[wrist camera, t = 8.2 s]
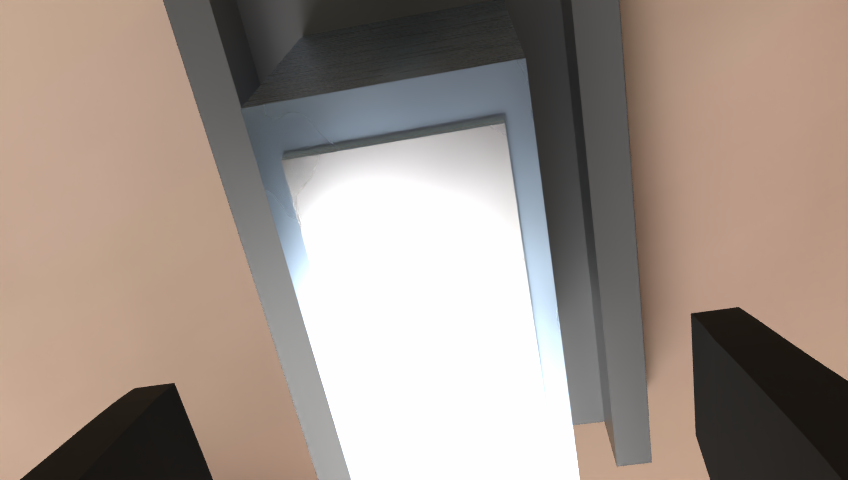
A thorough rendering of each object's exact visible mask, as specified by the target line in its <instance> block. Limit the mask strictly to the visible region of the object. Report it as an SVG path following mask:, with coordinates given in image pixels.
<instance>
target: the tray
mask: <svg viewBox="0 0 848 480" xmlns="http://www.w3.org/2000/svg"><path fill="white" fill-rule="evenodd" d="M487 1H492V0H163V2H164V5H165V8H166V11H167V14H168V17H169V20H170V23H171V26H172V30H173V33H174V36H175V39H176V42H177V45H178V48H179V51H180V54H181V57H182V60H183V64H184V67H185V70H186V73H187V76H188V79H189V82H190V85H191V88H192V91H193V94H194V98H195V101H196V104H197V107H198V110H199V113H200V116H201V119H202V122H203V125H204V128H205V132H206V135H207V138H208V141H209V144H210V147H211V150H212V153H213V156H214V159H215V162H216V166H217V169H218V172H219V175H220V178H221V181H222V184H223V187H224V190H225V193H226V196H227V200H228V203H229V206H230V209H231V212H232V215H233V218H234V221H235V224H236V227H237V230H238V234H239V237H240V240H241V243H242V246H243V249H244V252H245V255H246V258H247V261H248V264H249V268H250V271H251V274H252V277H253V280H254V283H255V286H256V289H257V292H258V295H259V298H260V302H261V305H262V308H263V311H264V314H265V317H266V320H267V323H268V326H269V329H270V332H271V336H272V339H273V342H274V345H275V348H276V351H277V354H278V357H279V360H280V363H281V366H282V369H283V373H284V376H285V379H286V382H287V385H288V388H289V391H290V394H291V397H292V400H293V403H294V407H295V410H296V413H297V416H298V419H299V422H300V425H301V428H302V431H303V434H304V437H305V441H306V444H307V447H308V450H309V453H310V456H311V459H312V462H313V465H314V468H315V471H316V475H317V478H318V480H352V479H351V476H350V473H349V469H348V466H347V463H346V459H345V456H344V453H343V449H342V446H341V443H340V439H339V436H338V433H337V429H336V426H335V423H334V419H333V416H332V413H331V409H330V406H329V403H328V399H327V396H326V393H325V389H324V386H323V383H322V379H321V376H320V373H319V369H318V366H317V363H316V359H315V356H314V353H313V349H312V346H311V343H310V339H309V336H308V333H307V329H306V326H305V323H304V319H303V316H302V313H301V309H300V306H299V303H298V299H297V296H296V293H295V289H294V286H293V282H292V279H291V276H290V272H289V269H288V266H287V262H286V259H285V256H284V252H283V249H282V246H281V242H280V239H279V236H278V232H277V229H276V226H275V222H274V219H273V216H272V212H271V209H270V206H269V202H268V199H267V196H266V192H265V189H264V186H263V182H262V179H261V176H260V172H259V169H258V166H257V162H256V159H255V156H254V152H253V149H252V146H251V142H250V139H249V136H248V132H247V129H246V126H245V122H244V119H243V116H242V112H241V108H242V106H243V105H244V104H245V103H246V102H247V100H248V99H249V98H250V97H251V96H252V95H253V93H254V92H255V91H256V90H257V89H258V88H259V86H260V85H261V84H262V83H263V82H264V80H265V79H266V78H267V77H268V76H269V75H270V73H271V72H272V71H273V70H274V69H275V68H276V66H277V65H278V64H279V63H280V62H281V60H282V59H283V58H284V57H285V56H286V55H287V53H288V52H289V51H290V50H291V49H292V47H293V46H294V45H295V44H296V43H297V42H298V40H299V39H300V38H301V37H302V36H304V35H310V34H315V33H320V32H326V31H331V30H337V29H342V28H347V27H353V26H358V25H363V24H369V23H374V22H379V21H385V20H390V19H396V18H401V17H406V16H412V15H417V14H422V13H428V12H433V11H438V10H444V9H449V8H455V7H460V6H465V5H471V4H476V3H481V2H487ZM503 1H504V3H505V6H506V9H507V11H508V14H509V16H510V19H511V22H512V24H513V27H514V29H515V32H516V35H517V37H518V40H519V42H520V45H521V48H522V50H523V53H524V55H525V58H526V65H527V73H528V81H529V89H530V97H531V105H532V112H533V120H534V128H535V136H536V144H537V151H538V159H539V167H540V175H541V183H542V191H543V198H544V206H545V214H546V222H547V230H548V237H549V245H550V253H551V261H552V269H553V276H554V284H555V292H556V300H557V308H558V316H559V323H560V331H561V339H562V347H563V355H564V362H565V370H566V378H567V386H568V394H569V402H570V409H571V417H572V425H579V424H587V423H595V422H603V421H604V422H605V425H606V429H607V432H608V436H609V440H610V443H611V447H612V451H613V454H614V458H615V461H616V465H617V466H625V465H634V464H642V463H651V462H652V457H651V443H650V429H649V410H648V396H647V382H646V368H645V354H644V340H643V326H642V312H641V298H640V284H639V270H638V256H637V242H636V228H635V214H634V200H633V185H632V171H631V157H630V143H629V129H628V115H627V101H626V87H625V73H624V59H623V45H622V31H621V17H620V3H619V0H503Z"/></svg>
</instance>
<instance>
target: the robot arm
mask: <svg viewBox="0 0 848 480" xmlns="http://www.w3.org/2000/svg"><path fill="white" fill-rule="evenodd" d="M691 327H692V352H693V377H694V402H695V428H696V437H697V440H698V443H699V446H700V449H701V453H702V456H703V459H704V462H705V465H706V468H707V471H708V474H709V477H710V480H848V381H847V380H846V379H844V378H843V377H841V376H839V375H838V374H836V373H835V372H833V371H832V370H830V369H829V368H827V367H826V366H824V365H823V364H821V363H820V362H818V361H817V360H815V359H814V358H812V357H811V356H809V355H808V354H806V353H805V352H803V351H802V350H801V349H799V348H798V347H796V346H795V345H793V344H792V343H790V342H789V341H787V340H786V339H785V338H783V337H782V336H780V335H779V334H777V333H776V332H774V331H773V330H772V329H770V328H769V327H767V326H766V325H764V324H763V323H762V322H760V321H759V320H757V319H756V318H754V317H753V316H751V315H750V314H748V313H747V312H745V311H744V310H742V309H741V308H739V307H736V308H729V309H721V310H714V311H706V312H699V313H691ZM20 480H213V479H212V476H211V474H210V471H209V469H208V466H207V463H206V461H205V458H204V456H203V453H202V451H201V448H200V446H199V443H198V441H197V438H196V436H195V433H194V431H193V428H192V426H191V423H190V421H189V418H188V416H187V413H186V411H185V408H184V406H183V403H182V401H181V398H180V396H179V393H178V391H177V388H176V386H175V383H171V384H163V385H156V386H148V387H141V388H134V389H133V390H131V391H130V392H128V393H127V394H125V395H124V396H123V397H121V398H120V399H118V400H117V401H116V402H114V403H113V404H112V405H111V406H109V407H108V408H107V409H105V410H104V411H103V412H102V413H100V414H99V415H98V416H97V417H95V418H94V419H93V420H92V421H90V422H89V423H88V424H87V425H86V426H84V427H83V428H82V429H81V430H79V431H78V432H77V433H76V434H75V435H73V436H72V437H71V438H70V439H69V440H67V441H66V442H65V443H64V444H63V445H61V446H60V447H59V448H58V449H57V450H55V451H54V452H53V453H52V454H51V455H49V456H48V457H47V458H46V459H44V460H43V461H42V462H41V463H40V464H38V465H37V466H36V467H35V468H34V469H32V470H31V471H30V472H29V473H28V474H26V475H25V476H24V477H23V478H21V479H20Z"/></svg>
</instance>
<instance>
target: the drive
mask: <svg viewBox="0 0 848 480" xmlns="http://www.w3.org/2000/svg"><path fill="white" fill-rule="evenodd" d="M241 112H242V116H243V119H244V122H245V126H246V129H247V132H248V136H249V139H250V142H251V146H252V149H253V152H254V156H255V159H256V162H257V166H258V169H259V172H260V176H261V179H262V182H263V186H264V189H265V192H266V196H267V199H268V202H269V206H270V209H271V212H272V216H273V219H274V222H275V226H276V229H277V232H278V236H279V239H280V242H281V246H282V249H283V252H284V256H285V259H286V262H287V266H288V269H289V272H290V276H291V279H292V282H293V286H294V289H295V293H296V296H297V299H298V303H299V306H300V309H301V313H302V316H303V319H304V323H305V326H306V329H307V333H308V336H309V339H310V343H311V346H312V349H313V353H314V356H315V359H316V363H317V366H318V369H319V373H320V376H321V379H322V383H323V386H324V389H325V393H326V396H327V399H328V403H329V406H330V409H331V413H332V416H333V419H334V423H335V426H336V429H337V433H338V436H339V439H340V443H341V446H342V449H343V453H344V456H345V459H346V463H347V466H348V469H349V473H350V476H351V479H352V480H579V472H578V464H577V456H576V448H575V441H574V433H573V425H572V417H571V409H570V402H569V394H568V386H567V378H566V370H565V362H564V355H563V347H562V339H561V331H560V323H559V316H558V308H557V300H556V292H555V284H554V276H553V269H552V261H551V253H550V245H549V237H548V230H547V222H546V214H545V206H544V198H543V191H542V183H541V175H540V167H539V159H538V151H537V144H536V136H535V128H534V120H533V112H532V105H531V97H530V89H529V81H528V73H527V65H526V58H525V55H524V53H523V50H522V48H521V45H520V42H519V40H518V37H517V35H516V32H515V29H514V27H513V24H512V22H511V19H510V16H509V14H508V11H507V9H506V6H505V3H504V1H503V0H492V1H487V2H481V3H476V4H471V5H465V6H460V7H455V8H449V9H444V10H438V11H433V12H428V13H422V14H417V15H412V16H406V17H401V18H396V19H390V20H385V21H379V22H374V23H369V24H363V25H358V26H353V27H347V28H342V29H337V30H331V31H326V32H320V33H315V34H310V35H304V36H302V37H301V38H300V39H299V40H298V42H297V43H296V44H295V45H294V46H293V47H292V49H291V50H290V51H289V52H288V53H287V55H286V56H285V57H284V58H283V59H282V60H281V62H280V63H279V64H278V65H277V66H276V68H275V69H274V70H273V71H272V72H271V73H270V75H269V76H268V77H267V78H266V79H265V80H264V82H263V83H262V84H261V85H260V86H259V88H258V89H257V90H256V91H255V92H254V93H253V95H252V96H251V97H250V98H249V99H248V100H247V102H246V103H245V104H244V105H243V106H242V108H241Z"/></svg>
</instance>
